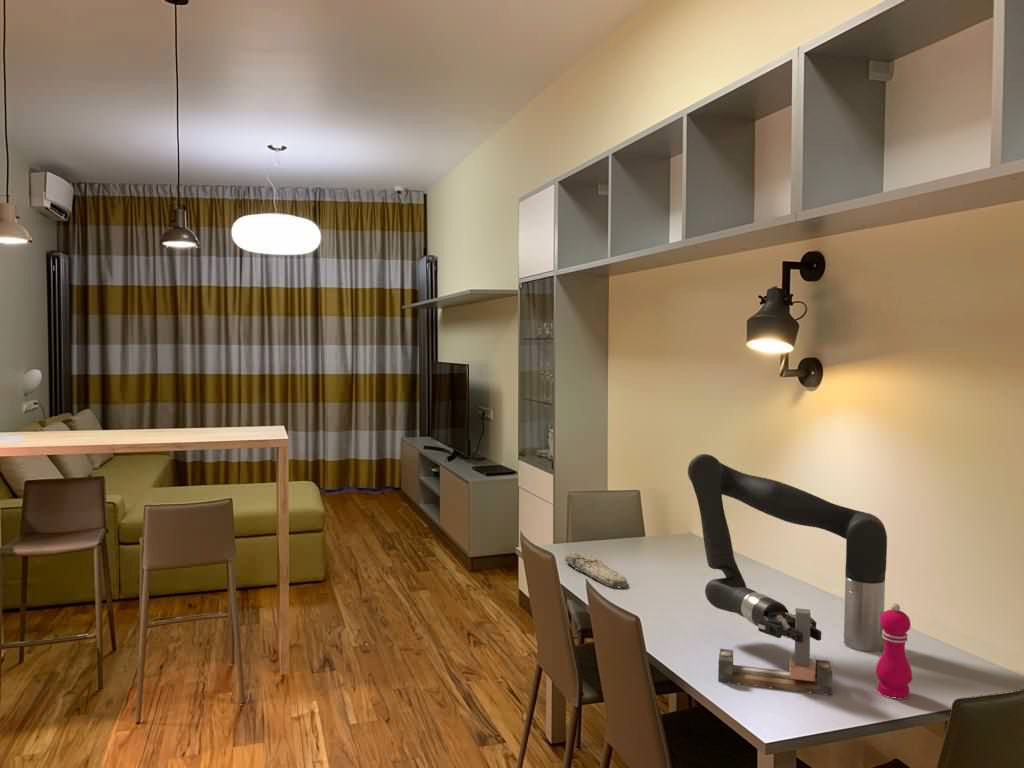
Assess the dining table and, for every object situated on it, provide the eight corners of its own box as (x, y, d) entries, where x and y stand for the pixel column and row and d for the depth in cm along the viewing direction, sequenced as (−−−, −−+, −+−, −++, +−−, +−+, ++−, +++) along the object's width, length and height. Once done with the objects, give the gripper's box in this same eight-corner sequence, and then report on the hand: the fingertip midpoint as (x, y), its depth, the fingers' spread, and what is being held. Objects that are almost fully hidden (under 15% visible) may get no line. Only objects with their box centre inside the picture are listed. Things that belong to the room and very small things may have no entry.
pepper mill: (880, 683, 180) (882, 596, 179) (915, 692, 175) (917, 602, 174) (871, 694, 174) (873, 604, 173) (907, 703, 170) (909, 611, 169)
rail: (829, 682, 180) (829, 659, 180) (831, 695, 173) (832, 671, 173) (719, 669, 187) (720, 647, 187) (718, 681, 181) (718, 658, 180)
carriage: (812, 669, 181) (814, 607, 180) (814, 681, 175) (815, 616, 174) (789, 667, 182) (790, 605, 181) (790, 678, 176) (791, 614, 175)
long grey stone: (607, 595, 247) (635, 593, 251) (609, 579, 246) (636, 577, 250) (556, 560, 278) (581, 559, 282) (558, 546, 278) (583, 544, 282)
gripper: (738, 599, 189) (783, 624, 173) (789, 594, 193) (838, 617, 177) (738, 630, 190) (783, 658, 173) (788, 624, 194) (837, 650, 178)
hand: (810, 637), depth 175 cm, fingers closed on carriage, 4 cm apart
